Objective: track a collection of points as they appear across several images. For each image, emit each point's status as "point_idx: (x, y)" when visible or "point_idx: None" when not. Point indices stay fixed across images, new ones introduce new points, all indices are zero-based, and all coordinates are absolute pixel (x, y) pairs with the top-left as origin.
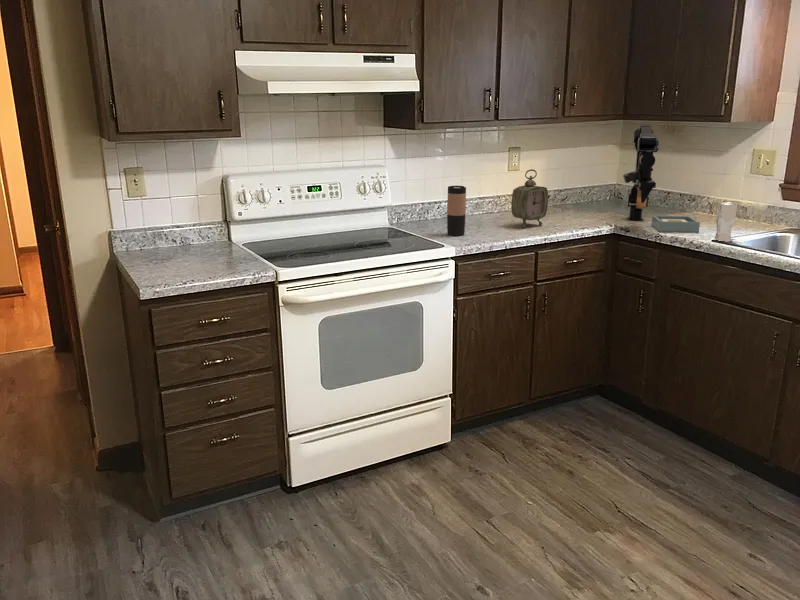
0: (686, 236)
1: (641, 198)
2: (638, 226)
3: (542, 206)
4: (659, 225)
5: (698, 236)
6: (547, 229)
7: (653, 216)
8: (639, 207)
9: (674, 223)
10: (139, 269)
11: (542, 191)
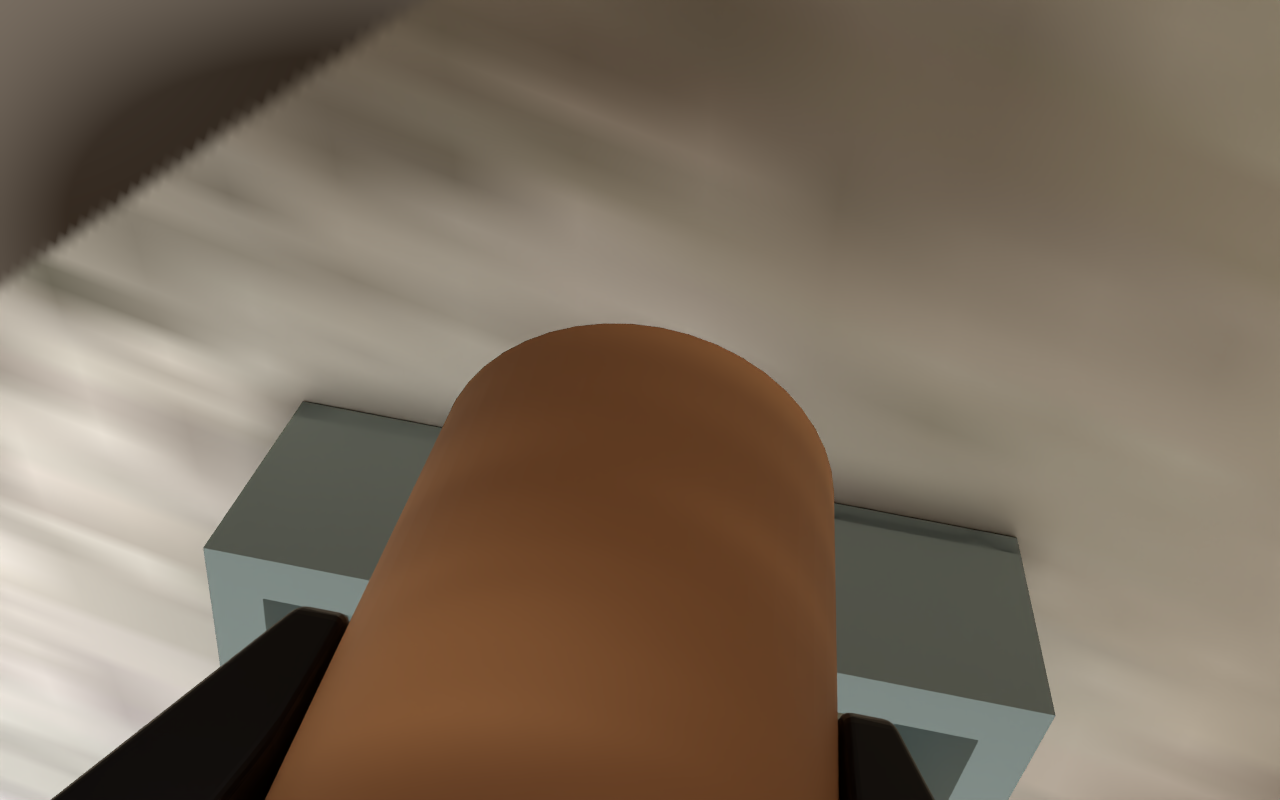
0: (28, 620)
1: (103, 764)
2: (986, 250)
3: None
4: (307, 493)
5: (81, 741)
6: None
7: (937, 690)
8: (454, 408)
9: None
10: None
11: None
